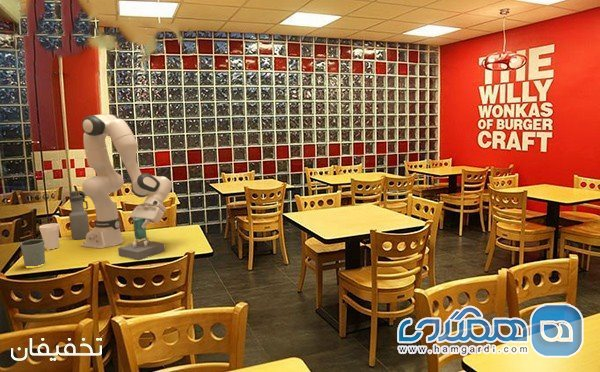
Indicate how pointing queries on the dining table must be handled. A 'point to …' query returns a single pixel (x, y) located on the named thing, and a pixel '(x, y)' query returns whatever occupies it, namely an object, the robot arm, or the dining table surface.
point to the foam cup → (50, 235)
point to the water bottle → (78, 215)
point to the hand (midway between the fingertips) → (138, 227)
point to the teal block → (139, 229)
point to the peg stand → (141, 249)
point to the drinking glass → (33, 252)
